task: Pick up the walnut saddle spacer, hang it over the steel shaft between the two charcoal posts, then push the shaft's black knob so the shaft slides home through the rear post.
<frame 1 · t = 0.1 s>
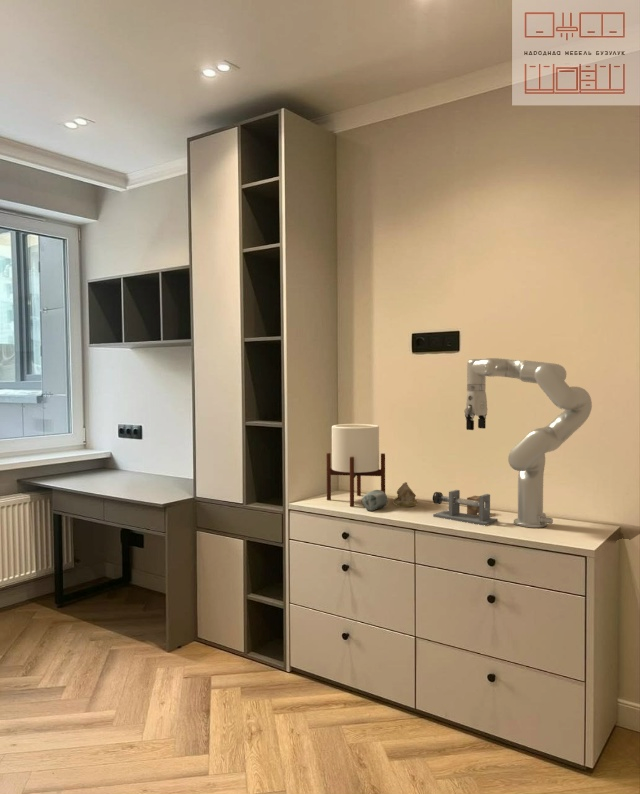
hand: (476, 429, 261), 37 cm above the table, fingers open, 9 cm apart
plant pot with stand: (355, 501, 295), on the table
grey bearing stand: (464, 518, 256), on the table
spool: (374, 509, 277), on the table
shaft: (456, 500, 258), point 7 cm above the table, slide at 0.0 cm
spacer: (475, 513, 266), on the table
ceramic model: (406, 504, 287), on the table
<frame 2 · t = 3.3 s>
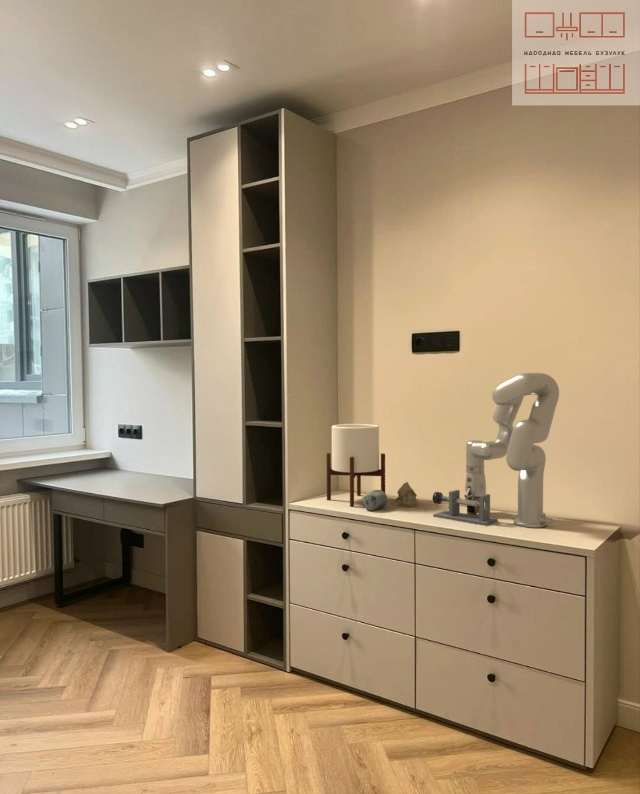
hand: (475, 510, 266), 1 cm above the table, fingers closed on spacer, 6 cm apart
spacer: (475, 513, 266), on the table, touching gripper
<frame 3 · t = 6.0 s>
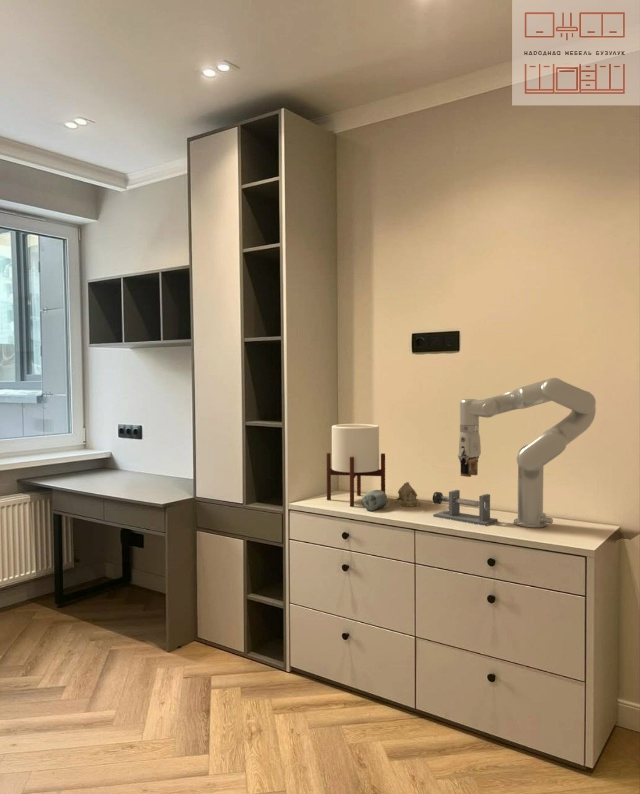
hand: (469, 472, 254), 19 cm above the table, fingers closed on spacer, 6 cm apart
spacer: (469, 475, 254), point 18 cm above the table, touching gripper
when the fingers open (5 cm above the table, at t = 9.1 s): spacer stays where it is, resting on shaft.
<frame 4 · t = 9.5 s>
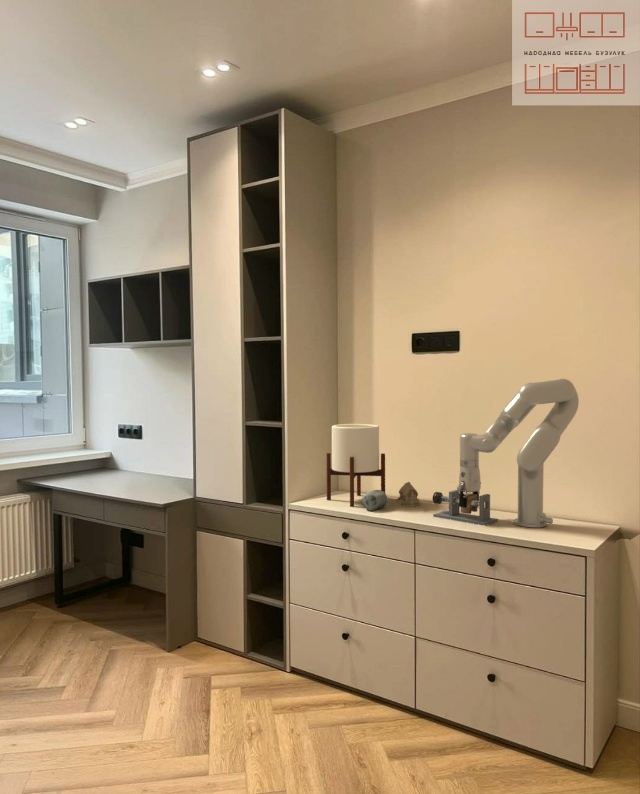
hand: (469, 505, 254), 6 cm above the table, fingers open, 9 cm apart
shaft: (456, 500, 258), point 7 cm above the table, slide at 0.0 cm, touching spacer
spacer: (469, 511, 254), point 3 cm above the table, touching shaft
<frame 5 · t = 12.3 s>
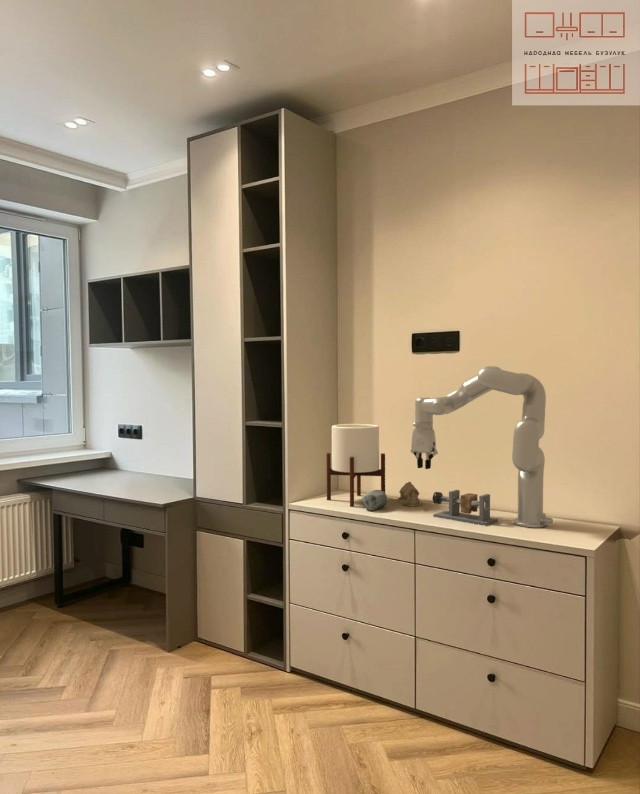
hand: (424, 467, 269), 19 cm above the table, fingers open, 3 cm apart
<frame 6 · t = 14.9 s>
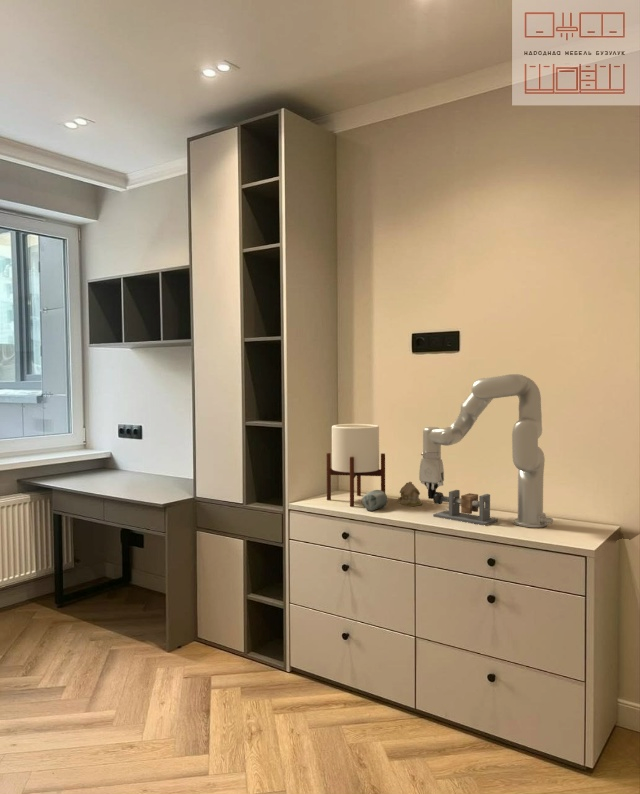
hand: (432, 498, 266), 6 cm above the table, fingers closed
shaft: (457, 500, 258), point 7 cm above the table, slide at 0.3 cm, touching gripper, spacer
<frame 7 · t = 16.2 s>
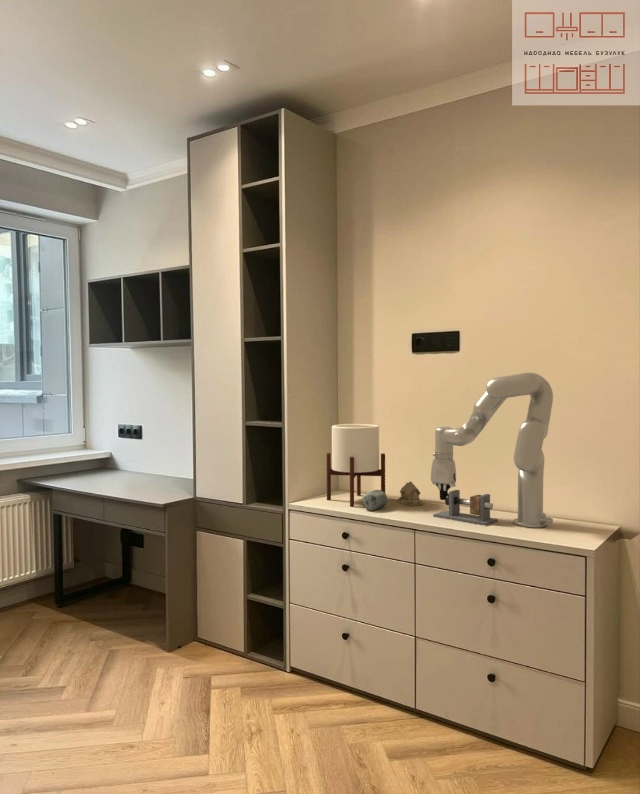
hand: (443, 499, 262), 7 cm above the table, fingers closed
shaft: (469, 502, 254), point 7 cm above the table, slide at 6.1 cm, touching gripper, spacer
spacer: (478, 513, 251), point 3 cm above the table, touching grey bearing stand, shaft
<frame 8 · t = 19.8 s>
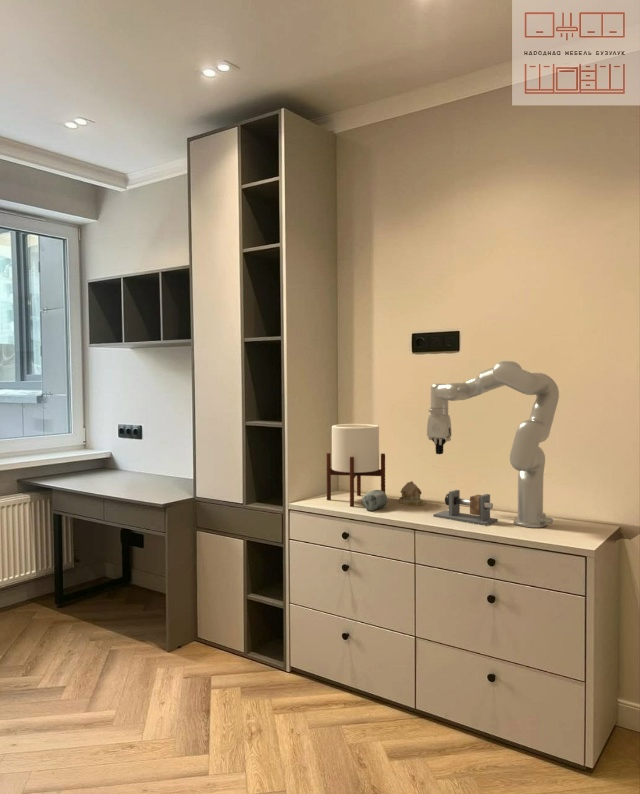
hand: (439, 453, 270), 25 cm above the table, fingers closed
shaft: (469, 502, 254), point 7 cm above the table, slide at 6.0 cm, touching spacer
spacer: (478, 513, 251), point 3 cm above the table, touching shaft
at the end: shaft slide at 6.0 cm; spacer inside the target area on the grey bearing stand (3.5 cm from its centre), point 3.2 cm above the grey bearing stand's base; spacer tilted 1° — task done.
